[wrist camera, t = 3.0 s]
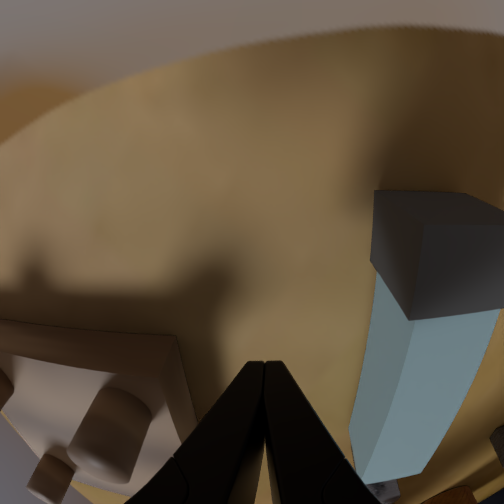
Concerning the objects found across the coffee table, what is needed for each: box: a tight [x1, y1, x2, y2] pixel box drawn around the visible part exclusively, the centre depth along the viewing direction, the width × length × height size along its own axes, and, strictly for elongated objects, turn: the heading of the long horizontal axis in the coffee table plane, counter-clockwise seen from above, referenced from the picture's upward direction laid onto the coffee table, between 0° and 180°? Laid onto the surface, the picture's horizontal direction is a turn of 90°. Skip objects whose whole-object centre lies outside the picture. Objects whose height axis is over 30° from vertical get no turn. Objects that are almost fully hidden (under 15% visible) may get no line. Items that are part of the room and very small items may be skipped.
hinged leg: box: [349, 190, 504, 484], centre depth 10 cm, size 12×4×4 cm, turn 4°
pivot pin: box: [351, 444, 401, 504], centre depth 13 cm, size 2×2×4 cm
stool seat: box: [0, 319, 198, 504], centre depth 12 cm, size 12×12×6 cm
